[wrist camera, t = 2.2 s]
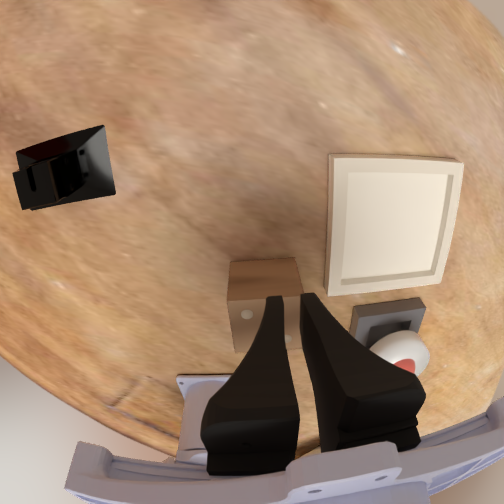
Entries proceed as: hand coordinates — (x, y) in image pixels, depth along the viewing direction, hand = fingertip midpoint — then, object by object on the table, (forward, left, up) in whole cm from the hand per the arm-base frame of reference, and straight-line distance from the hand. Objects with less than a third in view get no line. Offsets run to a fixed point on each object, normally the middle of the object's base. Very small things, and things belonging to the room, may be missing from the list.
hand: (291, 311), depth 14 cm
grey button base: (-12, -10, -10) cm, 19 cm away
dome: (-12, -11, -8) cm, 18 cm away
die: (-6, +1, -10) cm, 11 cm away
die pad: (0, -9, -10) cm, 14 cm away
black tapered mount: (+6, +16, -11) cm, 20 cm away
